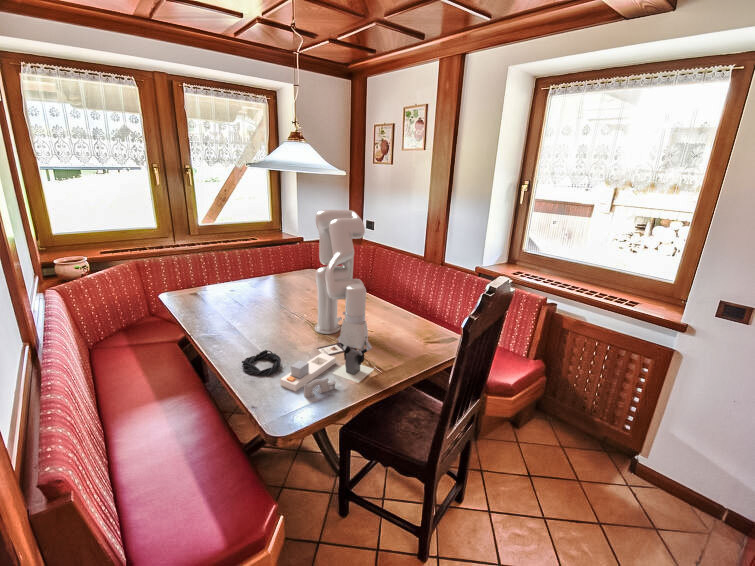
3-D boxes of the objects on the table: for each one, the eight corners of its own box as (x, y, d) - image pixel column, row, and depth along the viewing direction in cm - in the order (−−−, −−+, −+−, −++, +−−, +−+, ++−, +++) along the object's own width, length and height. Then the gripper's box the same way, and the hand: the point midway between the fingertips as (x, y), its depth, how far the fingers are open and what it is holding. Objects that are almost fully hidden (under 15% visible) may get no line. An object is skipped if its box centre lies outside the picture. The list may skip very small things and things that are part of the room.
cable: (285, 374, 142) (284, 364, 141) (246, 382, 136) (246, 372, 135) (274, 355, 157) (274, 345, 156) (239, 361, 150) (238, 351, 149)
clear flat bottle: (333, 387, 135) (333, 373, 133) (336, 389, 134) (336, 375, 132) (302, 397, 128) (302, 382, 127) (305, 400, 127) (304, 384, 125)
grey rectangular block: (352, 367, 148) (352, 349, 146) (360, 370, 147) (361, 351, 144) (345, 372, 144) (345, 354, 142) (354, 375, 142) (354, 357, 140)
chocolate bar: (362, 347, 165) (325, 356, 156) (362, 349, 166) (325, 358, 156) (352, 339, 172) (316, 348, 163) (352, 341, 173) (316, 350, 163)
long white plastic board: (321, 360, 154) (321, 351, 153) (335, 365, 151) (335, 356, 150) (280, 387, 134) (280, 377, 133) (295, 393, 131) (295, 383, 130)
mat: (349, 361, 154) (349, 360, 153) (374, 369, 148) (374, 369, 148) (332, 374, 143) (332, 373, 143) (358, 383, 138) (358, 382, 138)
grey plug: (300, 375, 141) (300, 360, 139) (308, 378, 139) (308, 363, 137) (291, 381, 136) (291, 365, 135) (299, 384, 135) (299, 368, 133)
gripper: (330, 315, 140) (330, 358, 145) (369, 325, 132) (367, 371, 137) (341, 309, 146) (341, 351, 151) (380, 319, 138) (377, 362, 143)
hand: (353, 360), depth 144 cm, fingers open, 5 cm apart
